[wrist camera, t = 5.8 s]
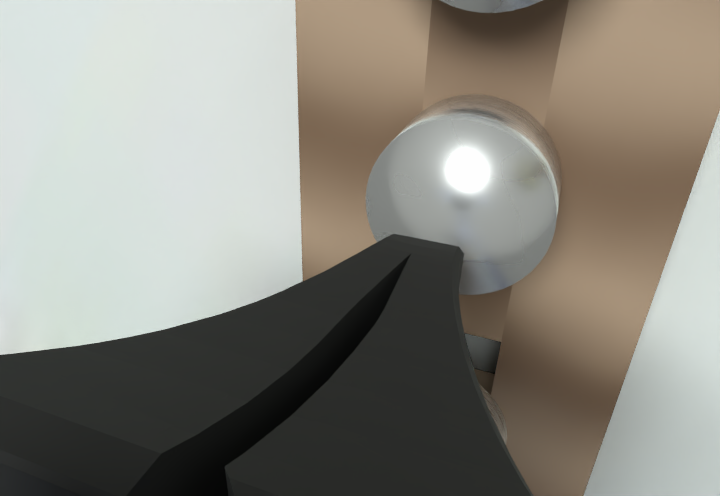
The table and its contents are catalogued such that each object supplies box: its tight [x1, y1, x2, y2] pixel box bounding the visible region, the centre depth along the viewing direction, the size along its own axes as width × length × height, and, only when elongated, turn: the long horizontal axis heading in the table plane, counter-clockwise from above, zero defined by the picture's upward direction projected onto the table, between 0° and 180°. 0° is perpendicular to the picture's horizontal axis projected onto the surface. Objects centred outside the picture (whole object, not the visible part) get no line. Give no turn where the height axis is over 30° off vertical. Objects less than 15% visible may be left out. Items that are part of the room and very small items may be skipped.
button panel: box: [295, 0, 720, 496], centre depth 16 cm, size 26×10×2 cm, turn 178°
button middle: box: [366, 94, 562, 295], centre depth 15 cm, size 4×4×4 cm
